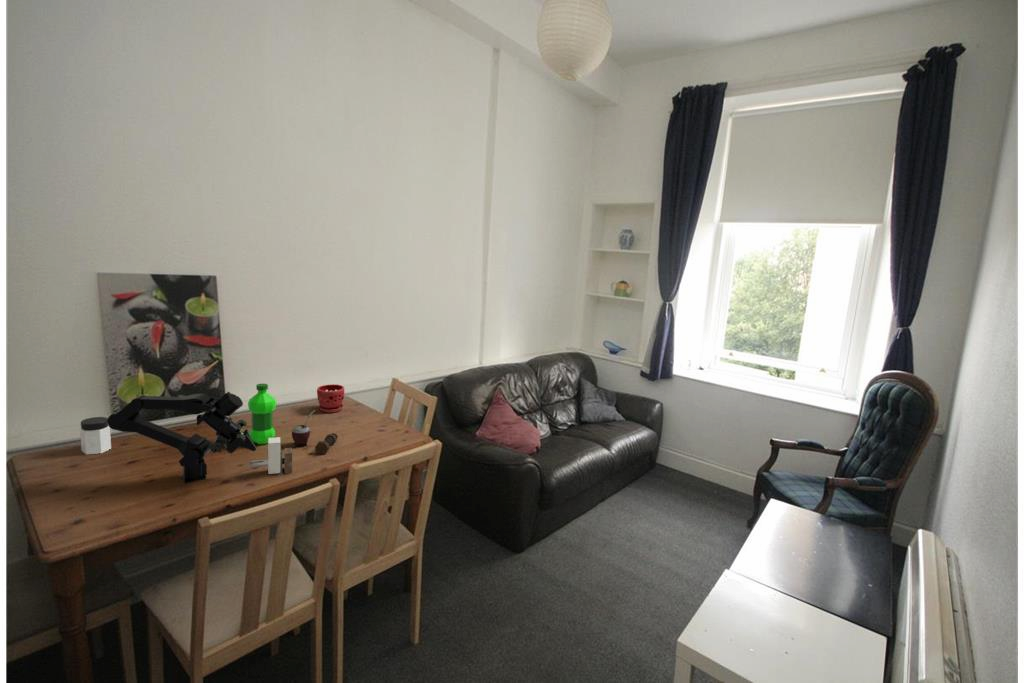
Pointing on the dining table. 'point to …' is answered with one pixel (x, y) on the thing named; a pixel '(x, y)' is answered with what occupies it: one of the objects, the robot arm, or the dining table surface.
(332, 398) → the plant pot
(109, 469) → the dining table surface
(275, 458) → the white rectangular block
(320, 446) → the brown knobbed cylinder
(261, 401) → the plastic bottle
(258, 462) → the pipe
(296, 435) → the mate gourd
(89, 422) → the jar
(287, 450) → the pipe block
